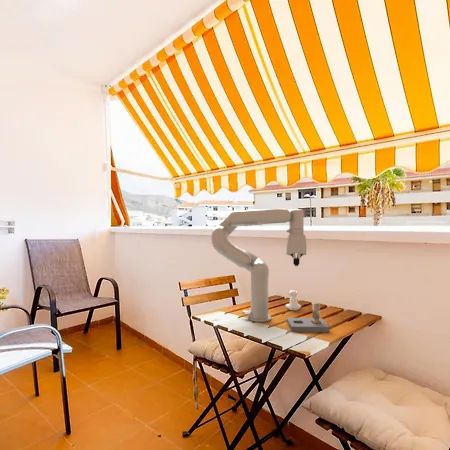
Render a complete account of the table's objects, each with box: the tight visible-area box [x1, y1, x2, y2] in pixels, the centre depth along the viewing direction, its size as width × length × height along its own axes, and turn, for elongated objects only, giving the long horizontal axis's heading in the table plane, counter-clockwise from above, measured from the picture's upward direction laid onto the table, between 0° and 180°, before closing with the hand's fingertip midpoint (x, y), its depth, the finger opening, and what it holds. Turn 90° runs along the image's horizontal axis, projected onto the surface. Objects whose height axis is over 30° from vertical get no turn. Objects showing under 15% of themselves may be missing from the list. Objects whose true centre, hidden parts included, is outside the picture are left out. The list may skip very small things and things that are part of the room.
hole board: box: [286, 317, 330, 333], centre depth 161 cm, size 18×14×2 cm
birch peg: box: [311, 302, 321, 324], centre depth 161 cm, size 4×4×12 cm
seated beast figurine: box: [285, 289, 302, 312], centre depth 193 cm, size 10×9×12 cm
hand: (296, 265), depth 174 cm, fingers closed
